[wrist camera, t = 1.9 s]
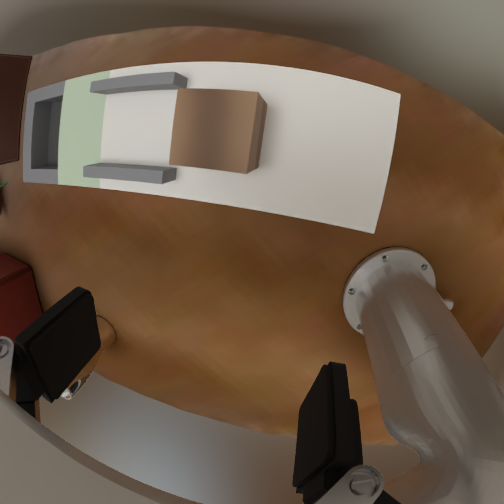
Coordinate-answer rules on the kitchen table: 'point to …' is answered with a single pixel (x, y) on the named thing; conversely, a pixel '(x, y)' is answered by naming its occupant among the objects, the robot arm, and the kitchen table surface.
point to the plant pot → (16, 297)
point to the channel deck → (215, 181)
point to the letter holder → (11, 103)
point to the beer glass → (106, 340)
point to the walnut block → (218, 129)
